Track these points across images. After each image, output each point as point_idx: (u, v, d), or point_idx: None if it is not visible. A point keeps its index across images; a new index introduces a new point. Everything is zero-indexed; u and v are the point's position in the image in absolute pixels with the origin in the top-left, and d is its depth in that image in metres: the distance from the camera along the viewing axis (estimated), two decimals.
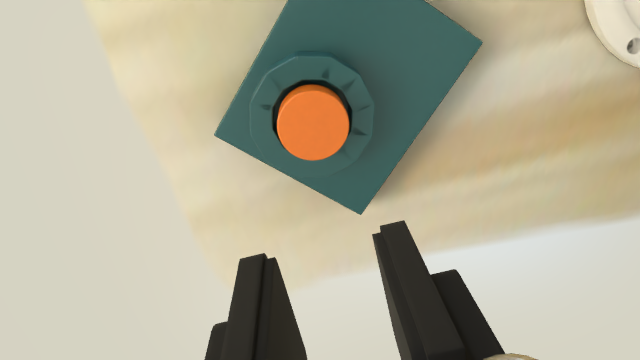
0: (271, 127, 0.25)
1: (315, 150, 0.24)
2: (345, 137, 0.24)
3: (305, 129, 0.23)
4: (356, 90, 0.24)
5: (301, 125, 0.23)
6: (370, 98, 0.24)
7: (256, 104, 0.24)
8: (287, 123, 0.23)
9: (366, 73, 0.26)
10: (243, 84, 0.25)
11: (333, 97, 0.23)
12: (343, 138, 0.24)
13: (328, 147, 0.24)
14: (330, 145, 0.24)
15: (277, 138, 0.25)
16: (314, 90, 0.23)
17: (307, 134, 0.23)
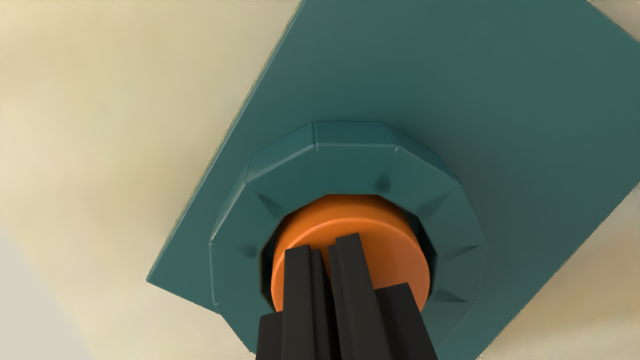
0: (258, 289, 0.11)
1: None
2: (420, 308, 0.11)
3: (333, 295, 0.11)
4: (450, 215, 0.11)
5: None
6: (479, 231, 0.11)
7: (224, 245, 0.11)
8: None
9: (460, 163, 0.12)
10: (201, 187, 0.12)
11: (398, 231, 0.10)
12: None
13: None
14: None
15: (272, 309, 0.11)
16: (355, 216, 0.10)
17: None
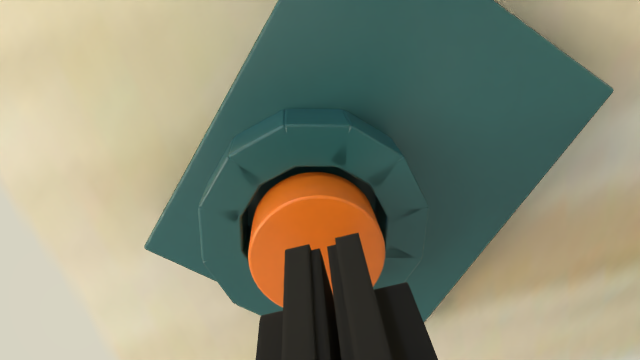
0: (240, 248, 0.13)
1: None
2: (377, 275, 0.13)
3: None
4: (396, 183, 0.13)
5: None
6: (421, 196, 0.13)
7: (211, 210, 0.13)
8: (268, 254, 0.12)
9: (409, 144, 0.15)
10: (191, 165, 0.14)
11: (356, 207, 0.12)
12: (374, 277, 0.13)
13: None
14: None
15: None
16: (319, 194, 0.12)
17: None
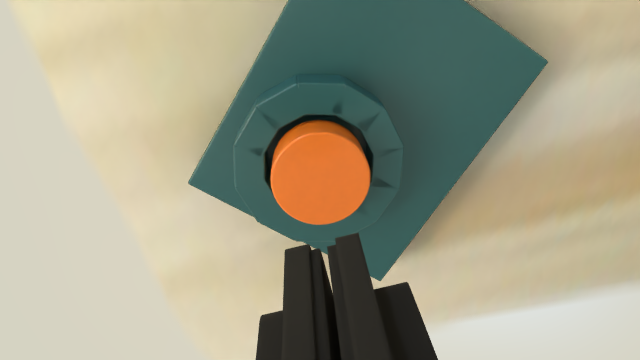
0: (263, 177, 0.18)
1: (324, 212, 0.17)
2: (365, 194, 0.17)
3: (310, 184, 0.17)
4: (379, 128, 0.18)
5: (304, 179, 0.17)
6: (398, 139, 0.18)
7: (242, 147, 0.18)
8: (285, 176, 0.17)
9: (391, 102, 0.19)
10: (226, 117, 0.19)
11: (349, 141, 0.16)
12: (362, 196, 0.17)
13: (341, 207, 0.17)
14: (344, 205, 0.17)
15: (271, 192, 0.18)
16: (322, 131, 0.16)
17: (312, 191, 0.17)
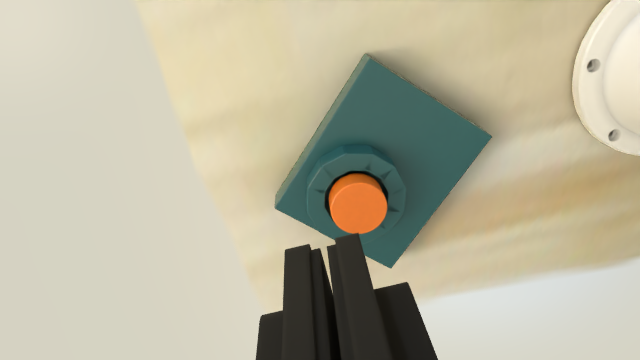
0: (323, 206, 0.31)
1: (360, 226, 0.30)
2: (384, 216, 0.30)
3: (352, 211, 0.30)
4: (392, 178, 0.30)
5: (349, 208, 0.30)
6: (403, 184, 0.31)
7: (313, 189, 0.30)
8: (339, 207, 0.29)
9: (398, 160, 0.32)
10: (300, 169, 0.32)
11: (375, 187, 0.29)
12: (382, 217, 0.30)
13: (370, 224, 0.30)
14: (372, 222, 0.30)
15: (328, 214, 0.31)
16: (360, 182, 0.29)
17: (354, 214, 0.30)
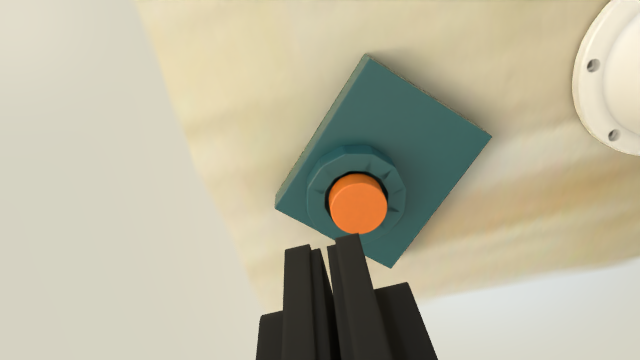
0: (323, 206, 0.31)
1: (360, 227, 0.30)
2: (384, 217, 0.30)
3: (352, 211, 0.30)
4: (392, 178, 0.30)
5: (349, 208, 0.30)
6: (403, 184, 0.31)
7: (313, 189, 0.30)
8: (339, 207, 0.29)
9: (398, 160, 0.32)
10: (300, 170, 0.32)
11: (375, 187, 0.29)
12: (382, 217, 0.30)
13: (370, 224, 0.30)
14: (372, 223, 0.30)
15: (328, 214, 0.31)
16: (360, 182, 0.29)
17: (354, 215, 0.30)
